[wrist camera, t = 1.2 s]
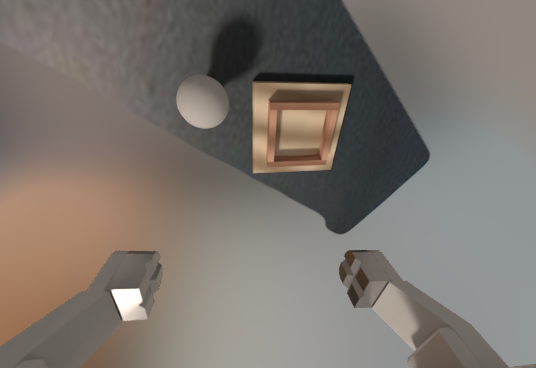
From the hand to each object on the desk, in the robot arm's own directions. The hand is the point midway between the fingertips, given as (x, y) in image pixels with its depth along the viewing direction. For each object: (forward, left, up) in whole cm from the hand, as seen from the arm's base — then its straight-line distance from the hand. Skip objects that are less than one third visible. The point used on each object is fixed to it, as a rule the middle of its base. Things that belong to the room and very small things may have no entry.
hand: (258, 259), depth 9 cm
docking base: (+4, +10, -28) cm, 30 cm away
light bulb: (-2, -4, -28) cm, 28 cm away
